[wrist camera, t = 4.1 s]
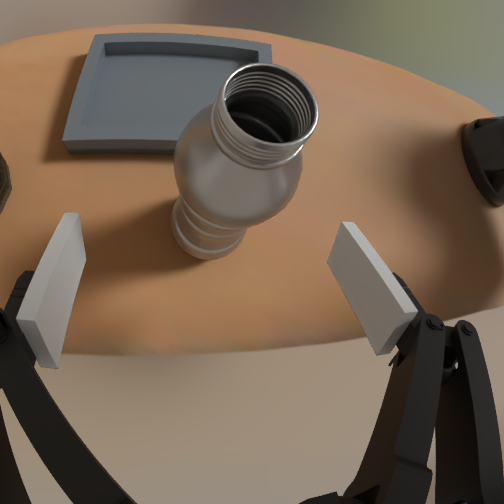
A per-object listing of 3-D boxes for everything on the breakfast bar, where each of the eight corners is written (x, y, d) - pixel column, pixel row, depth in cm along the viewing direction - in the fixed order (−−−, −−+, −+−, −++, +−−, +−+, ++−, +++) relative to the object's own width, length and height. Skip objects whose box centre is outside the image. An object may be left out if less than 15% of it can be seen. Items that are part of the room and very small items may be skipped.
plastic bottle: (163, 254, 28) (148, 165, 9) (180, 184, 29) (205, 20, 10) (233, 269, 29) (349, 216, 10) (246, 199, 31) (355, 68, 11)
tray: (263, 59, 34) (270, 44, 31) (267, 161, 32) (276, 148, 29) (98, 51, 29) (95, 34, 26) (70, 154, 27) (61, 140, 24)
